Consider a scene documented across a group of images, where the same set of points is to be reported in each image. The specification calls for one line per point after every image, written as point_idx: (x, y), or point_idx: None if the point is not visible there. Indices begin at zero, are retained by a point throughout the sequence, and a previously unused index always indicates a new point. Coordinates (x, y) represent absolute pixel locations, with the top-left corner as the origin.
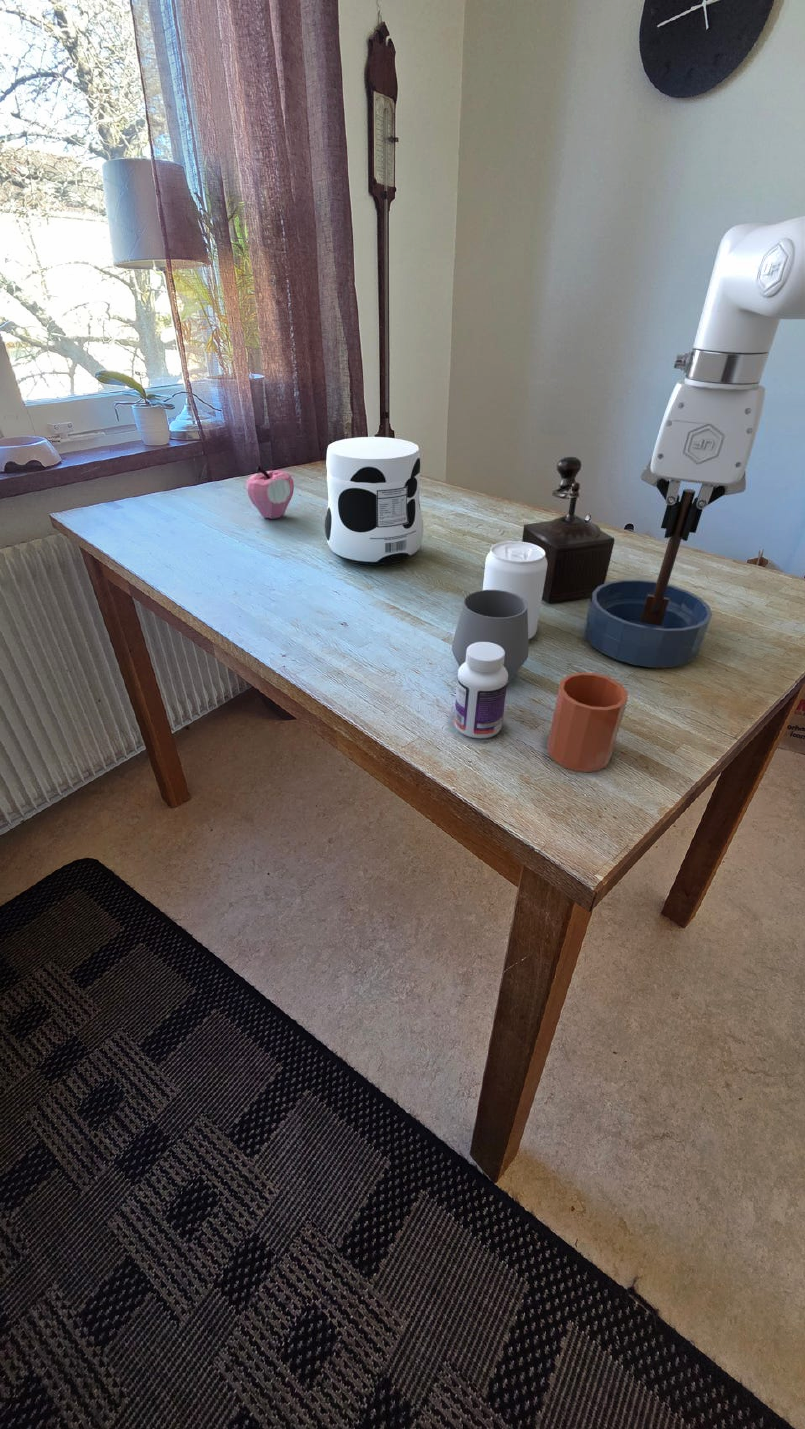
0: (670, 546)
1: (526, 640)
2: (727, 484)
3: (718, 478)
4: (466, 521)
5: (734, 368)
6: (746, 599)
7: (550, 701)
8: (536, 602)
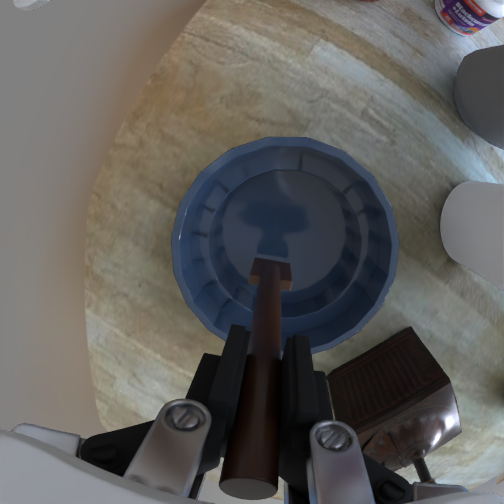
0: (275, 332)
1: (477, 69)
2: (31, 440)
3: (65, 492)
4: (437, 469)
5: None
6: (135, 390)
7: (403, 51)
8: (482, 205)
